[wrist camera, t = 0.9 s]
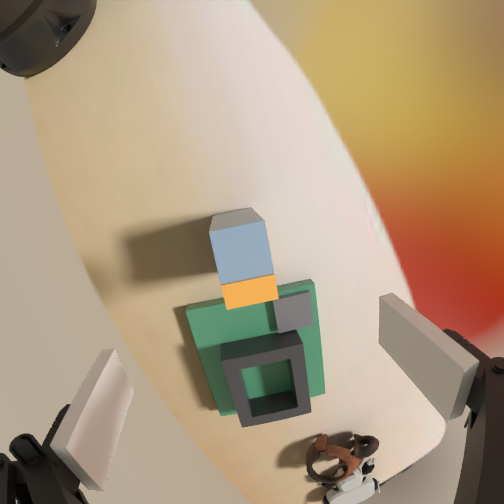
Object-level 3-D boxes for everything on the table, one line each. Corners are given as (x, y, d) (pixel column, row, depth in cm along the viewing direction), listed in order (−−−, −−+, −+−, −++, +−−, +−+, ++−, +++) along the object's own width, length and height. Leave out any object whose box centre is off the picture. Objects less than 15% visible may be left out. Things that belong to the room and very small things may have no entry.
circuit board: (186, 305, 33) (181, 326, 28) (310, 279, 33) (324, 295, 29) (220, 408, 37) (221, 434, 32) (322, 386, 37) (333, 410, 33)
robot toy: (311, 468, 44) (321, 501, 47) (316, 485, 39) (326, 516, 42) (373, 446, 44) (374, 482, 47) (381, 461, 40) (381, 495, 42)
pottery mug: (329, 464, 44) (319, 493, 36) (303, 431, 45) (289, 458, 38) (388, 440, 39) (386, 470, 32) (363, 403, 41) (359, 431, 34)
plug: (212, 215, 31) (208, 232, 21) (251, 207, 31) (264, 220, 21) (224, 270, 32) (226, 309, 23) (261, 263, 32) (278, 298, 23)
